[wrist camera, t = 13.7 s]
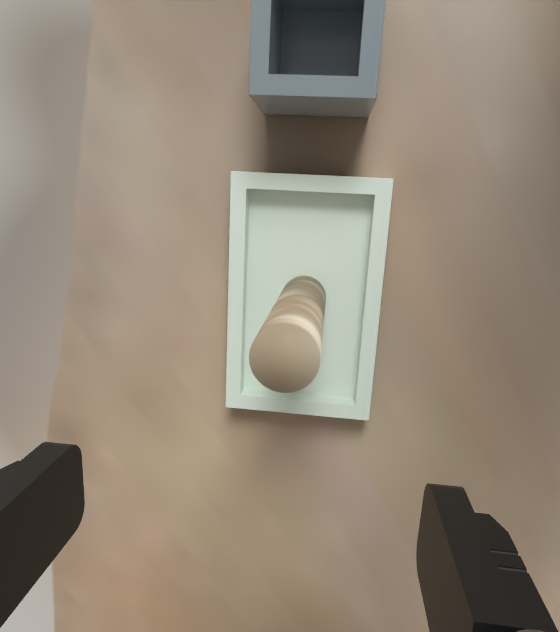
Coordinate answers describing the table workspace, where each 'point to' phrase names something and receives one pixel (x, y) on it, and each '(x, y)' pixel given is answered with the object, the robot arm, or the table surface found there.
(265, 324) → the dowel
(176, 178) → the table surface
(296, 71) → the slate box
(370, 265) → the sage tray
